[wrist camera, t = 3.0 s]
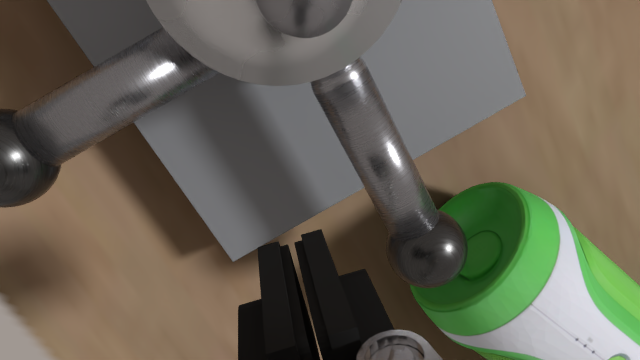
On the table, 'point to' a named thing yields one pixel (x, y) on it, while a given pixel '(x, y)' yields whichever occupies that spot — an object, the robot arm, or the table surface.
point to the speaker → (532, 284)
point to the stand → (306, 112)
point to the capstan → (259, 68)
